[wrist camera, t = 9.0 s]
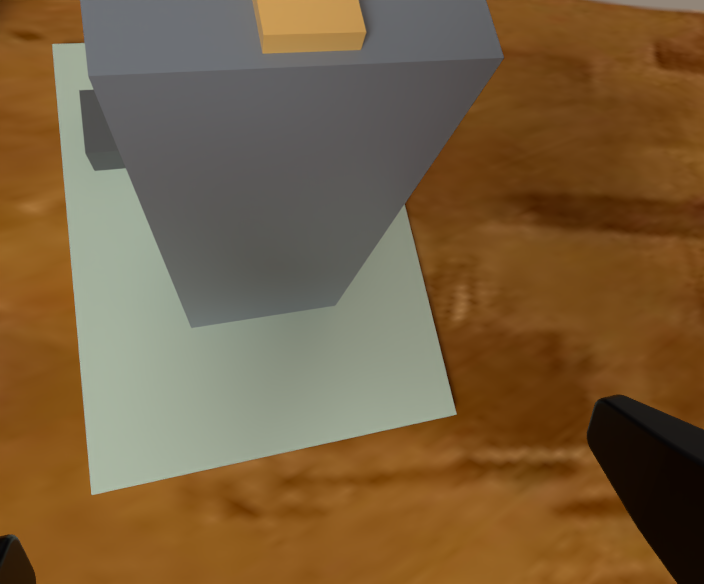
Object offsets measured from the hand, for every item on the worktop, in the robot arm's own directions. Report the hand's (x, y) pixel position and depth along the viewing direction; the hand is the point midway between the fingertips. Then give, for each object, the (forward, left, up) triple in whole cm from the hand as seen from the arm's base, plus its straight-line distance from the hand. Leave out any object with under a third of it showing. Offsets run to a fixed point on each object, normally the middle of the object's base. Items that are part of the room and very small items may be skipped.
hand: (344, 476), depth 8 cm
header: (+6, -4, -10) cm, 13 cm away
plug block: (+6, -4, -10) cm, 12 cm away
